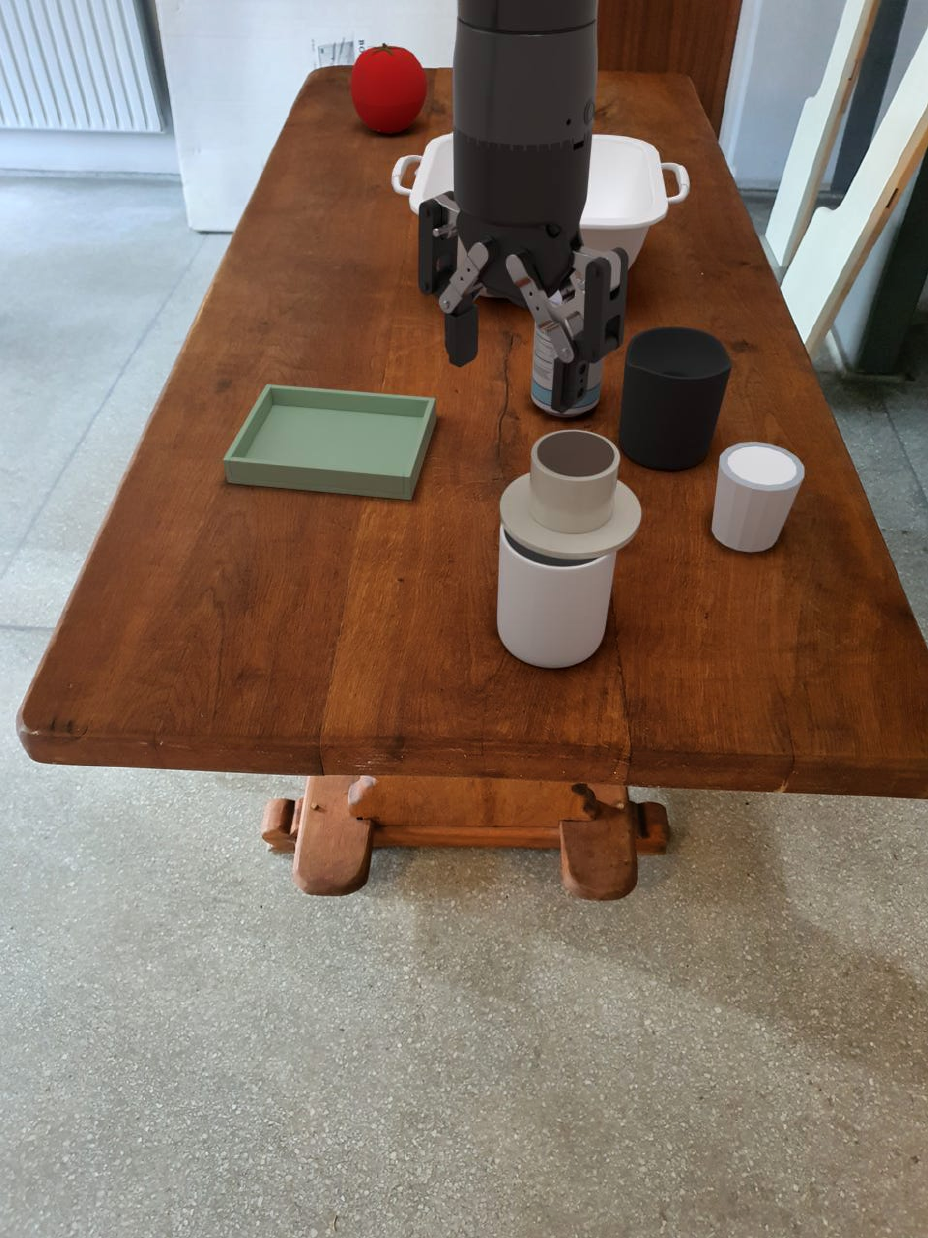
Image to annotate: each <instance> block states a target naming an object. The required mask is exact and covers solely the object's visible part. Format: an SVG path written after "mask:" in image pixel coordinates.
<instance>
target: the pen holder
mask: <svg viewBox="0 0 928 1238" xmlns="http://www.w3.org/2000/svg"><path fill="white" fill-rule="evenodd" d="M732 367H733V363H732V361H731V358H730V356H729V354H728V352H727V350H726V348H725V346H724V344H723V343H722V342H721V341H720V340H719V339H718V338H717V337H716V336H715V335H713V334H711V333H710V332H706V331H704V330H701V329H698V328H697V329H696V328H692V327H687V326H674V325H673V326H658V327H652V328H648V329H645V330H643V331H640V332H638V333H637V334H635V335H634V336H633V337H632V338H631V340H629V343H628V345H627V347H626V351H625V357H624V368H623V369H624V370H623V380H622V381H623V382H622V392H621V402H620V403H621V404H620V415H619V429H618V442H619V446H620V448H621V450H622V452H624V454H625V455H626V456H627V457H628V458H629V459H630V460H632V461H634V462H635V463H636V464H639V465H641V466H643V467H646V468H649V469H655V470H658V471H659V470H660V471H679V470H684V469H688V468H691V467H694V466H696V465H697V464H699V463H700V462H702V461H703V460H705V458H706V457H707V456H708V453H710V452H709V451H710V448H711V445H712V442H713V438H714V434H715V431H716V428H717V425H718V421H719V416H720V413H721V410H722V405H723V402H724V399H725V398H724V397H725V394H726V391H727V387H728V383H729V380H730V376H731V372H732V369H733V368H732Z"/></svg>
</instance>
